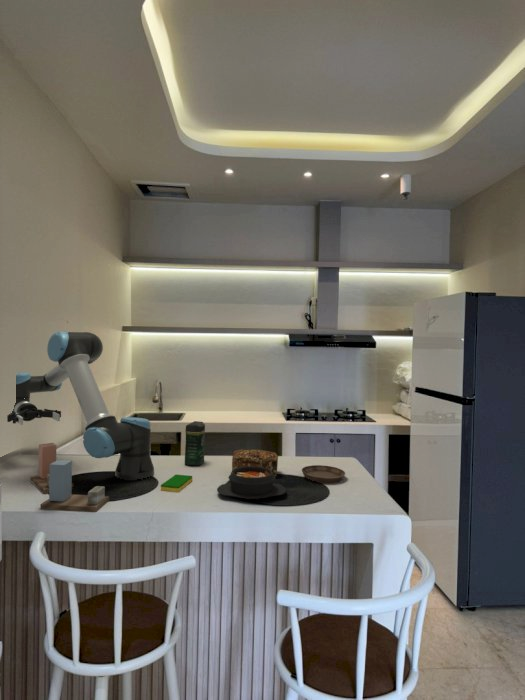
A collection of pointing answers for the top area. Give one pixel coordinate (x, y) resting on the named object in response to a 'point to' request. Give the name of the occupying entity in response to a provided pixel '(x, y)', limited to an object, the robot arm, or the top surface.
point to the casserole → (251, 483)
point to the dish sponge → (176, 483)
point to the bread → (255, 459)
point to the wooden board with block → (80, 501)
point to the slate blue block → (60, 480)
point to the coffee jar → (194, 443)
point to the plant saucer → (323, 473)
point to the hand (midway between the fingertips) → (40, 419)
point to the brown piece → (42, 483)
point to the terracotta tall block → (46, 458)
